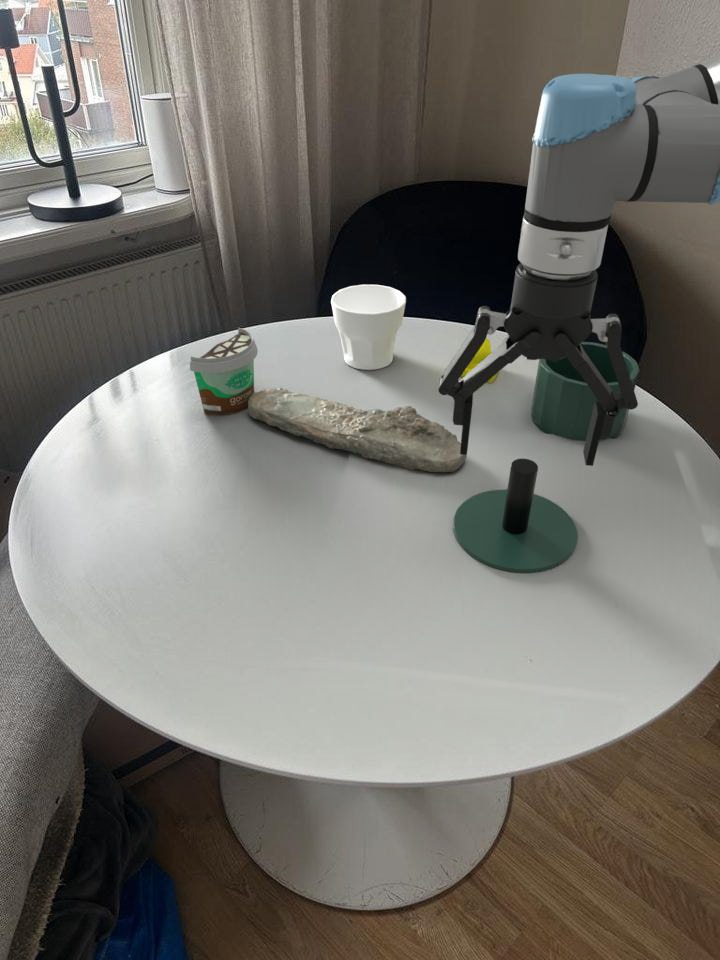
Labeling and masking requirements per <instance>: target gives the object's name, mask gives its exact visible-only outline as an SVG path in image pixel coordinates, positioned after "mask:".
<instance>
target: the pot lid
mask: <svg viewBox="0 0 720 960" xmlns="http://www.w3.org/2000/svg"><path fill="white" fill-rule="evenodd" d="M538 471H539V466H538V463H536V462H535V461H534V460H531V459H529V458H516V459H514V460H513V461H512V462H511V463H510V469H509V475H508V476H509V477H508V483H507V488H505V489H493V490H486V491H483V492H479V493H477V494H475V495H473V496H471V497H469V498H467V499H465V501H463V502H462V503H461V504H460V505H459V506H458V508H457V509H456V511H455V513H454V516H453V520H452V521H453V522H452V530H453V534H454V537H455V539H456V541H457V543H458V544H459V546H460V547H461V548H462V549H463V551H465V552H466V553H467V554H468V555H469V556H470V557H472V558H473V559H474V560H477V561H478V562H480V563H482V564H484V565H486V566H489V567H491V568H494V569H497V570H501V571H504V572H511V573H518V574H519V573H520V574H521V573H523V574H527V573H529V574H531V573H539V572H544V571H548V570H552V569H553V568H556V567H558V566H560V565H561V564H563V563H565V562H566V561H567V560H568V559H569V558H571V556H572V555H573V553H574V551H575V549H576V547H577V542H578V531H577V526H576V525H575V522H574V521H573V519H572V518H571V516H570V514H568V512H567V511H566V510H564V508H562V507H561V506H559V504H557V503H555V502H554V501H552V500H550V499H548V498H546V497H544V496H541V495H539V494H536V493H535V488H536V482H537V477H538Z"/></svg>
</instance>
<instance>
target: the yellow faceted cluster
mask: <svg viewBox="0 0 720 960" xmlns="http://www.w3.org/2000/svg"><path fill="white" fill-rule="evenodd" d="M491 353H492V347H491V340H490V339H488V338H487V337H486V339H485V341H484V343H483V345H482V346H481V348H480V349H479V350H478V352H477V353H476V355H475V356H474V358H473V359H472V361H471V362H470V363H469V365H468V366H467V368H466V369H465V371H464V372H463V374H462V375H461V376H460V377H462V378H463V377H464V376H466V375H467V374H468V373H469V372H470V371H471V370H472V369H474V368H475V367H476V366H477V365H478V364H479V363H480V362H482V361H483V360H484V359H485V358H486V357H487V356H488V355H490V354H491ZM499 374H500V371H499V372H498V373H497V374H495V375H494V376H493V377H492V378H491V379H490V380H488V381H487V382H486V383H488V384H492V383H493V382H494V380H495V379H496V378H497V377H498V375H499Z"/></svg>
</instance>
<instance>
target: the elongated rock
mask: <svg viewBox="0 0 720 960" xmlns="http://www.w3.org/2000/svg"><path fill="white" fill-rule="evenodd" d="M247 410H248V414H249V416H250V417H251V418H253V420H257V421H261V422H264V423H266V424H267V425H269V426H271V427H277V428H279V430H282V431H285V432H287V433H289V434H291V435H294V436H295V437H303V438H307V439H308V440H310V441H314V443H316V444H322V445H324V446H326V448H328V449H331V450H332V449H333V450H334V449H337V450H343V451H346V452H350V453H353V454H354V455H357V454H358V455H361V457H362V458H365V459H371V460H374V461H379V462H383V463H387V464H390V465H394V466H396V467H402V468H404V469H407V470H412V471H415V470H420V471H423V472H429V473H454V472H455V471H457V470H458V469H459V468H460V467H461V466H462V465H463V464H464V462H465V461H466V459H467V456H468V454H467V455H463V454H460V448H461V441H459V440H458V437H457V435H456V434H455V433H452V432H451V431H449V430H448V429H446V428H445V426H444V425H441V424H440V423H438V422H436V421H430V419H428V418H427V417H424V416H422V415H421V414H419V413H418V412H417V410H416V408H414V407H412V405H405V406H402V407H401V406H400V407H396V408H394V409H393V410H383V409H379V408H374V409H370V410H363V409H360V408H359V409H358V408H355V407H354V406H349V405H347V404H345V403H344V404H343V403H341V402H338V401H337V402H336V401H331V400H328V399H323V398H319V397H316V396H310V395H309V394H303V393H300V392H292V391H289V390H288V389H284V388H283V387H279V388H264V389H262V390H259V391H257V392H254V393H253V394H252V396H251V397H250V399H249V400H248V408H247Z"/></svg>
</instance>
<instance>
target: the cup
mask: <svg viewBox="0 0 720 960" xmlns="http://www.w3.org/2000/svg"><path fill="white" fill-rule="evenodd" d="M406 303H407V297H406V295H405V294H404V293H403V292H401V291H400V290H398V289H396V288H394V287H391V286H386V285H380V284H358V285H350V286H347V287H344V288H341V289H338V291H336V292H334V293H333V295H332V296H331V300H330V304H331V310H332V315H333V320H334V325H335V327H336V329H337V330H338V333H339V338H340V342H341V347H342V352H343V360H344V362H345V364H346V365H348V366H350V367H352V368H353V369H356V370H357V369H358V370H360V371H361V370H362V371H375V370H381V369H384V368H386V367H388V366H389V365H391V363H392V362H393V359H394V348H395V343H396V338H397V334H398V331H399V330H400V328H401V327H402V325H403V320H404V316H405V315H404V314H405V309H406Z"/></svg>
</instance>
